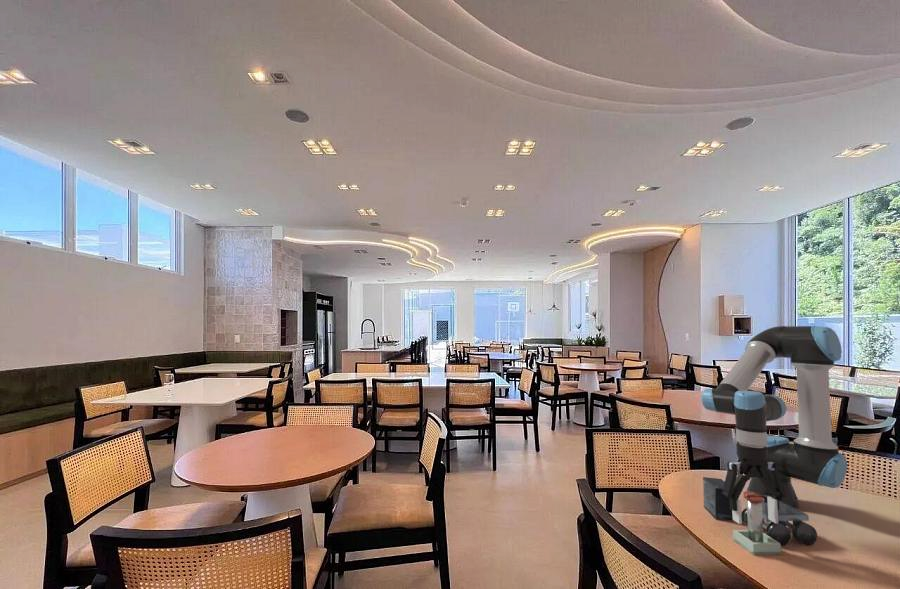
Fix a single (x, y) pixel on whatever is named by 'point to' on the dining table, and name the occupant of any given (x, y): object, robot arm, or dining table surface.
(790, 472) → the robot arm
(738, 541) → the tray
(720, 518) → the small box
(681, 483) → the dining table surface
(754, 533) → the pin
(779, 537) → the trolley
